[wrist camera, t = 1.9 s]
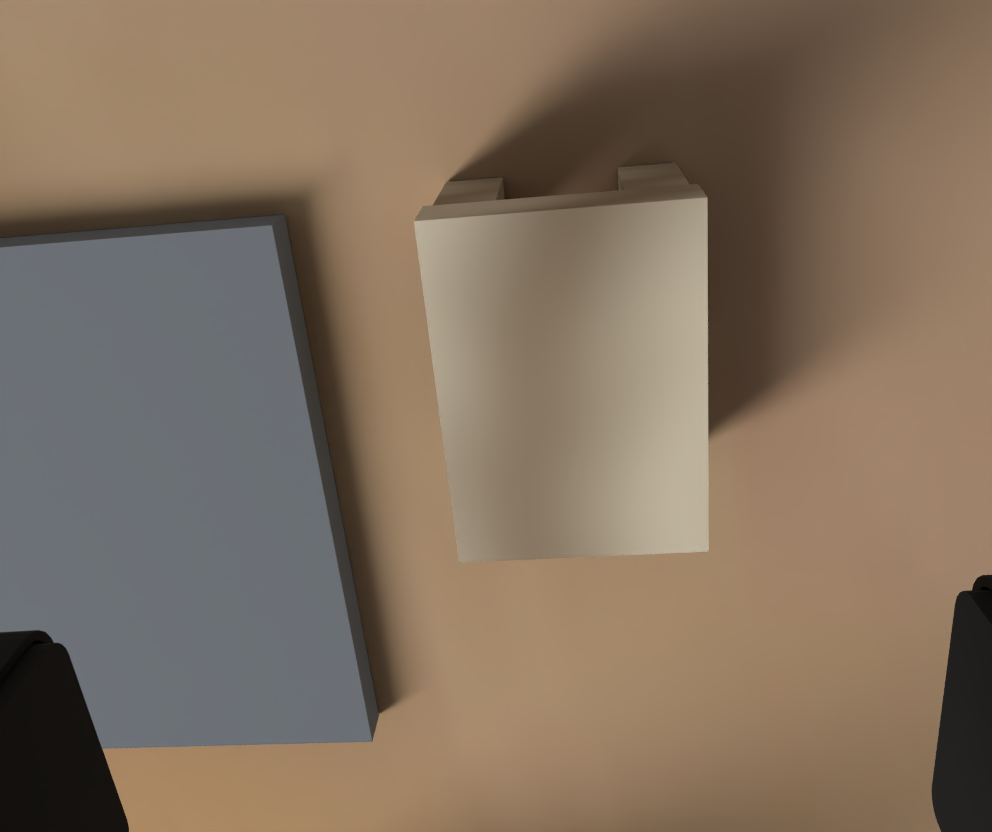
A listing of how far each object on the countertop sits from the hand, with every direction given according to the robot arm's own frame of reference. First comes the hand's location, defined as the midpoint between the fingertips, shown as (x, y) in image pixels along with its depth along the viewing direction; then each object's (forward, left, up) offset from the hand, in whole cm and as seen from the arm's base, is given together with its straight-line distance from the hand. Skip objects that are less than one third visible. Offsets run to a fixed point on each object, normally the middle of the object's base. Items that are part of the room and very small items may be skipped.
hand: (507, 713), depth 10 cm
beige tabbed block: (-1, 0, -12) cm, 12 cm away
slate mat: (+11, +4, -12) cm, 17 cm away
